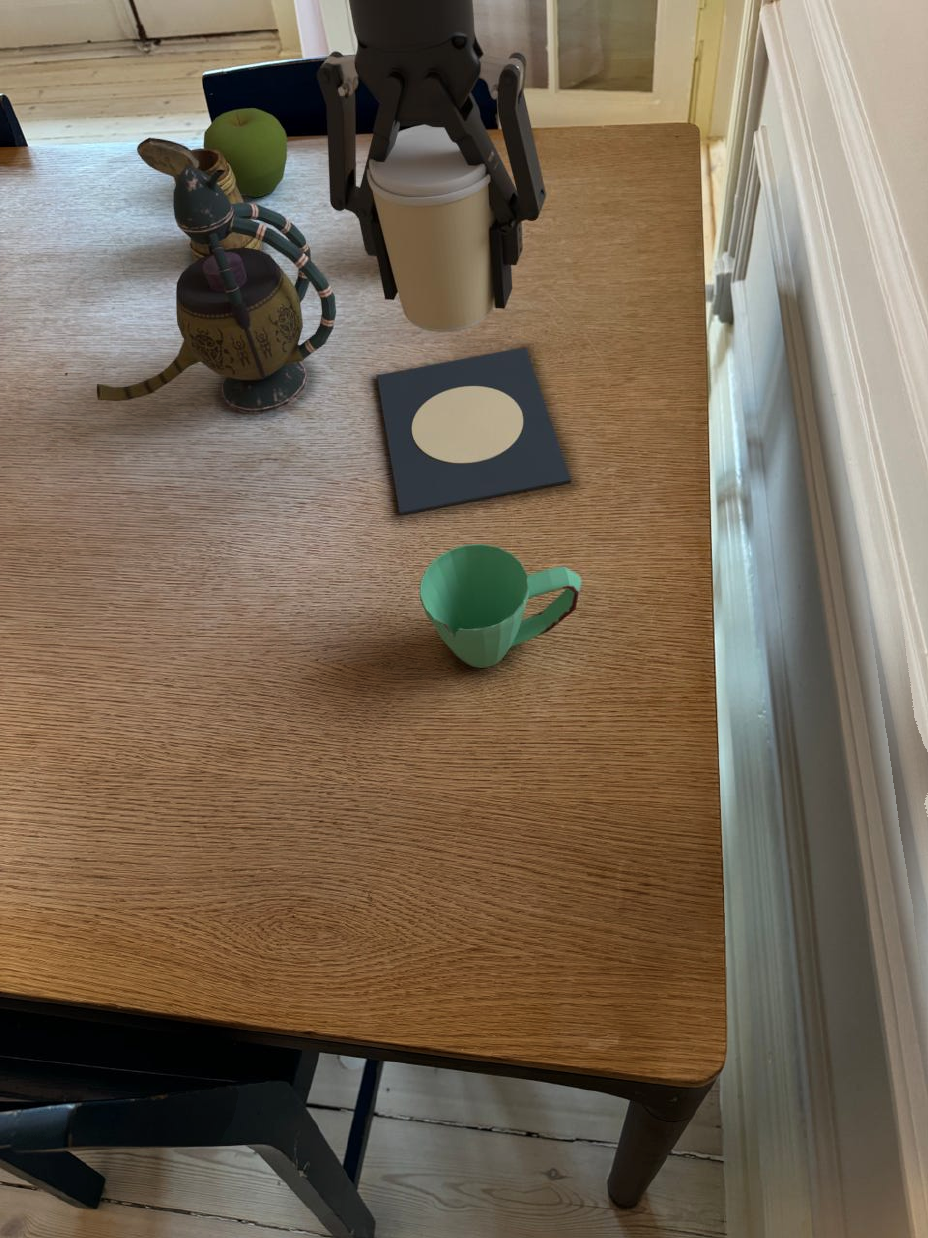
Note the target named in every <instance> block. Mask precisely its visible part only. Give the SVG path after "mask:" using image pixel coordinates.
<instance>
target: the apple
mask: <svg viewBox="0 0 928 1238" xmlns="http://www.w3.org/2000/svg"><path fill="white" fill-rule="evenodd" d="M202 147H203V149H206V148H212V149H216V150H218V151H220V152H221V153H222V154H223V156H224V158H225V160H226V162H227V163H228V164H229V165H230V167H231V169H232V172H233V174H234V176H235V180H236V182H235V183H236V186H237V188H238V190H239V193H240V195H243V196H247V197H250V198H260V197H263V196H266V195H269V194H271V193H273V192H274V190H275V189H276V188H277V187H278V186H279V184H280V183H281V182H282V180H283V179H284V175H285V170H286V164H287V159H288V137H287V133H286V130H285V128H284V127H283V126H282V124H281V123H280V121H279V120H278V119H277V118H276V117H275V116H274V115H272V114H271V113H268V112H266V111H264V110H261V109H258V108H255V107H251V108H247V107H246V108H239V109H233V110H230V111H226V112H223V113H221V114H219V116H216V117H215V119H214V120H213V121H212V122H211V123H210V125H208V127H207V129H205V131H204V133H203V146H202Z"/></svg>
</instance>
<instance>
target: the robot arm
mask: <svg viewBox="0 0 928 1238" xmlns="http://www.w3.org/2000/svg"><path fill="white" fill-rule="evenodd" d="M348 4H349V9H350V15H351V21H352V27H353V32H354V34H355V36H356V41H357V48H356V53H355V54H353V55H352V54H351V55H345V56H344V55H343V54H342V52H339V51H336V50H335V51H332V52H331V53H330V54H329V55H328V57H327V58H326V59H325V60H324V62H323V63H322V64H321V66H320V67H319V68H318V70H317V71H316V79H317V82H318V84H319V88H320V91H321V94H322V97H323V100H324V102H325V105H326V130H327V155H328V157H327V159H328V180H329V181H328V182H329V185H328V186H329V203H330V206H331V208H333V209H334V210H335V211H337V212H343V211H344V210H346V211H348V212H350V213H353V214H354V215H355V216H356V218H357V219H358V222H359V227H360V232H361V237H362V241H363V247H364V250H365V253H366V254H367V256H368V257H376V259H377V266H378V271H379V275H380V282H381V285H382V291H383V296H384V300H388V301H395V299H396V297H397V294H398V290H397V286H396V282H395V279H394V275H393V271H392V267H391V263H390V259H389V255H388V252H387V248H386V244H385V240H384V236H383V232H382V228H381V224H380V220H379V216H378V212H377V208H376V203H375V199H374V195H373V190H372V189H371V187H370V185H369V182H368V178H367V169H370V168H369V161H370V159H372V160H375V161H377V162H385V160H386V158H387V157H388V155H389V153H390V152H391V150H392V148H393V147H394V145H395V142H396V138H397V135H398V132H400V127H415V126H419V125H428V126H431V127H444V128H445V130H446V132H447V134H448V136H449V138H450V139H451V141H452V142H454V143H456V144H457V145H458V147H459V149H460V151H461V153H462V155H463V156H464V158H465V160H466V162H467V164H468V165H470V166H477V165H480V164H484V165H485V167H486V173H485V176H486V175H487V174H490V182H489V183H488V190H489V205H490V207H491V209H492V211H493V213H494V215H495V216H496V220H495V222H494V224H493V225H492V226H491V227H490V229H489V235H490V248H491V261H492V273H493V286H494V299H495V307H494V309H501V310H504V309H505V308H506V306H507V304H508V302H509V298H510V296H511V294H512V291H513V275H512V274H513V273H512V266H517V265H518V262H519V260H520V257H521V254H522V252H523V250H524V247H523V246H524V245H523V244H524V243H523V224H522V222H524V221H528V222H534V221H536V220H537V219H538V218H539V217H540V214H541V212H542V209H543V207H544V204H545V201H546V198H547V192H546V187H545V182H544V178H543V173H542V169H541V165H540V159H539V155H538V151H537V146H536V142H535V137H534V133H533V128H532V124H531V119H530V115H529V111H528V105H527V101H526V97H525V93H524V92H525V82H526V71H527V59H526V58H525V55H523V54H522V53H520V52H513V53H511V54H510V55H509V57H508V58H504V57H499V56H492V55H486V54H484V51H483V49H482V47H481V45H480V43H479V42H478V38H477V35H476V31H475V30H476V29H475V15H474V14H475V13H474V2H473V0H348ZM359 79H360V80H361V82H362V84H363V85H365V87H366V88H367V90H368V91H369V92H370V93H371V94H372V96H373V97H374V98H375V99H376V101H377V102H378V103H379V104H378V108H377V112H376V117H375V119H374V120H375V121H374V125H373V129H372V132H373V135H372V138H371V141H370V146H369V149H368V153H367V157H366V162H365V166H364V170H363V174H362V177H361V182H360V185H359V186H357V147H356V146H357V145H356V141H357V140H356V139H357V138H356V136H357V135H356V93H355V92H356V89H357V88H358V85H359ZM479 79H481V80H483V81H484V82H486V84H487V87H488V94H489V95H490V97H491V99H493V100H497V115H498V120H499V124H500V128H501V133H502V137H503V141H504V144H505V149H506V152H507V153H506V154H507V157H508V161H509V165H510V168H511V173H512V176H513V180H512V178H511V176H510V174H509V172H508V170H507V168H506V166H505V164H504V161H502V158H501V156H500V155H499V152H498V150H497V148H496V146H495V144H494V142H493V141H492V138H491V137H490V135H489V133H488V131H487V129H486V126H485V125H484V123H483V120H482V118H481V111H480V107H479V105H478V104H477V102H476V99H475V98H474V96H473V93H472V91H473V89H474V87H475V85H476V83H477V82H478V80H479ZM491 152H493V154H494V155H493V158H492V160H491V161H490V162H489V160H488V159H489V156H490V154H491ZM496 163H497V167H496V168H495V169H494V167H495V165H496ZM513 181H514V182H513Z"/></svg>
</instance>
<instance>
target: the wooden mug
mask: <svg viewBox="0 0 928 1238" xmlns="http://www.w3.org/2000/svg"><path fill="white" fill-rule="evenodd" d="M136 152H137V154H138V155H139V157H140V158H141V160H142V161H143V162H144V163H145V164H146V165H147V166H148V167H150V168H152V169H153V170H156V171H157V172H160V173H162V174H164V175H168V176H170V177H172V178H173V180H174V186H176V183H177V180H178V177H179V175H180V174H181V172H182V171H183V169H184V168H185V167H186V165H188V166H190V167H193V168H196V169H199V170H201V171H202V172H204V173H205V174H206V175H208V176H209V177H211V176H212V175H213V173H214V172H215V171H216V170H221V169H222V170H225V173H223V174H222V175H221V176H220V177H219V178H218V180H217V184H218V185H219V186H220V188H221V189H222V190H223V191H224V193H225V194H226V196H227V197H228V199H229V201H230V203H231V204H235V203H245V202H244V200H243V198H242V194H240V193H239V190H238V188H237V186H236V183H235V182H236V180H235V176H234V174H233V172H232V169H231V167H230V165H229V164H228V163H227V162H226V160H225V158H224V156H223V154H222V153H221V152H220V151H218V150H216V149H212V148H206V149H204V148H194V149H190V148H189V147H188V146H186V145H183V144H181V143H178V142H175V141H172V140H168V139H164V138H156V137H148V138H146V139H144V140H143V141H141V142H140V143H139V144H138V145H137V148H136ZM248 220H252V219H248ZM189 239H190V241H189V247H190V251H191V255H192V258H193V263H194V262H195V261H197V260H198V259H200V258H202V257H204V256H207V255H210V251H209V248H208V247H209V246H208V245H199V244H197V243H195V242H194V241H193V240H192V239H191V238H190V237H189ZM220 244H221V246H222V248H223V249H224V250H227V249H231V248H251V249H256V250H260V251H262V249H263V242H262V241H260V240H258V239H255V238H253V237H251V236H247V235H243V234H239V233H234V232H233V233H231V234H229V235H228V237H227V238H226V239H224V240H223V241H221V242H220Z"/></svg>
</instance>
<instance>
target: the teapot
mask: <svg viewBox="0 0 928 1238" xmlns="http://www.w3.org/2000/svg"><path fill="white" fill-rule="evenodd" d="M223 173H225V170H222V169H221V170H216V171H215V172H214V173H213V175H212V176H211V177H209V176H208V175H206V174H205V173H204V172H202V171H201V170H199V169H196V168H193V167H190V166H188V165H186V167H185V168H184V169H183V171H182V172H181V174H180V175H179V177H178V180H177V183H176V186H175V185H174V186H175V187H174V190H173V195H172V196H173V199H172V201H173V202H172V206H173V207H172V209H173V215H174V216H173V217H174V220H175V222H176V225H177V228H178V229H180V230H181V231H182V232H183V233H184V234H185V235H186V236H187V237H188V238H189V239H190V238H191V239H192V240H193V241H194V242H195V243H197V244H199V245H208V246H209V247H208V248H209V251H210V255H207V256H204V257H202V258H200V259H198V260H197V261H195V262H194V261H193V262H192V263H190V264H189V265H188V266H187V267H186V268H185V269H184V270H183V271H182V272H181V273H180V276H179V277H178V279H177V281H176V287H175V288H176V290H175V293H176V294H175V298H176V299H175V302H176V303H175V307H176V310H175V311H176V313H175V314H176V323H177V327H178V329H179V332H180V335H181V337H182V338H183V341H182V343H181V346H180V349H179V351H178V354H177V356H175V358H174V359H173V361H172V362H171V363H170V364H169V365H168V366H167V367H165V369H164V370H162V371H161V372H159V373H158V374H156V375H154V376H152V377H149V378H148V379H144V380H143V381H140V382H138V383H134V384H131V385H130V384H129V385H127V386H116V387H115V386H110V385H106V384H102V383H97V384H96V399H97V400H98V401H101V402H104V401H105V402H123V401H124V402H125V401H131V400H135V399H139V398H142V397H145V396H148V395H151V394H153V393H155V392H157V391H158V390H159V389H161V388H163V387H165V386H166V385H168V384H169V383H170V382H172V381H173V380H175V378H177V377H178V376H179V375H181V373H183V372H184V371H186V370H187V369H188V368H191V367H192V366H194V365H196V364H198V363H201V364H202V365H204V366H205V367H206V368H208V369H209V370H211V371H212V372H214V373H216V374H217V375H219V376H222V377H225V378H224V380H223V382H222V385H221V389H222V390H221V391H222V397H223V399H224V400H225V401H226V403H227V405H228V406H229V407H231V408H232V409H234V410H236V411H238V412H241V413H246V414H265V413H269V412H273V411H274V412H275V411H277V410H279V409H281V408H283V407H286V406H288V405H289V404H291V403H292V402H294V401H295V400H296V399H297V398H299V397H300V396H301V393H303V391H304V390H305V388H306V385H307V382H308V376H307V371H306V367H304V365H303V364H302V362H303V361H305V359H306V358H308V357H309V356H310V355H312V354H313V353H315V352H316V351H317V350H319V349H320V348H321V347H323V346H324V345H325V344H326V343H327V341H328V339H329V337H330V335H331V334H332V332H333V330H334V327H335V322H336V316H337V306H336V295H335V294H334V292H333V289H332V287H331V286H330V284H329V281H328V280H327V278H326V277H325V275H323V273H322V271H321V270H320V269H319V268H318V267H317V265H316V264H315V263H314V262H313V261H312V257H311V256H312V255H311V248H310V246H309V244H308V242H307V239H306V236H305V235H304V234H303V233H302V232H301V231H300V230H299V228H298V227H296V225H295V224H293V223H292V221H290V220H289V219H288V218H286V217H285V216H284V215H283V214H281V213H280V212H277V211H274V210H272V209H270V208H267V207H265V206H263V205H259V204H256V203H249V202H244V203H235V204H231V203H230V201H229V199H228V197H227V196H226V194H225V193H224V191H223V190H222V189H221V188H220V186H219V185H218V184H217V180H218V178H219V177H220V176H221V175H222V174H223ZM248 219H251V220H248ZM257 221H259V222H262V223H265V224H267V225H268V226H269V225H270V226H272V227H273V228H275V229H276V230H277V231H278V232H277V231H276V230H274V229H273V228H270V227H268V226H266V225H264V224H262V223H259V222H257ZM233 232H234V233H239V234H243V235H247V236H251V237H253V238H255V239H258V240H260V241H262V243H264V244H267V245H268V246H270V247H271V248H272V249H274V250H276V251H277V252H278V253H280V254H281V255H283V256H285V257H286V258H287V259H289V261H290V262H292V264H293V265H294V266H295V267H296V268H297V277H296V280H295V283H293V282H292V280H291V279H290V277H288V275H287V274H286V272H285V271H284V270H283V269H282V267H280V265H279V264H278V262H276V261H275V259H274V258H273V257H272V256H271V255H270V254H269V253H267V252H265V251H262V250H261V251H260V250H256V249H251V248H231V249H227V250H224V249H223V248H222V246H221V244H220V242H221V241H223V240H224V239H226V238H227V237H228V235H229V234H231V233H233ZM279 232H280V233H281V234H282V235H281V234H280V233H279ZM191 239H190V240H191ZM310 284H311V285H312V286H313V287H314V289H315V291H316V294H317V295H318V297H319V299H320V307H321V315H320V320H319V326H318V327H317V329H316V331H315V333H314V334H313V335H311V336H310V337H309V338H308V339H306V340H305V341H304V342H302V343H301V344H300V345H299V342H300V339H301V335H302V331H303V328H304V323H303V313H302V308H301V307H302V306H301V303H302V301H304V299H305V297H306V294H307V291H308V289H309V285H310Z"/></svg>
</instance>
